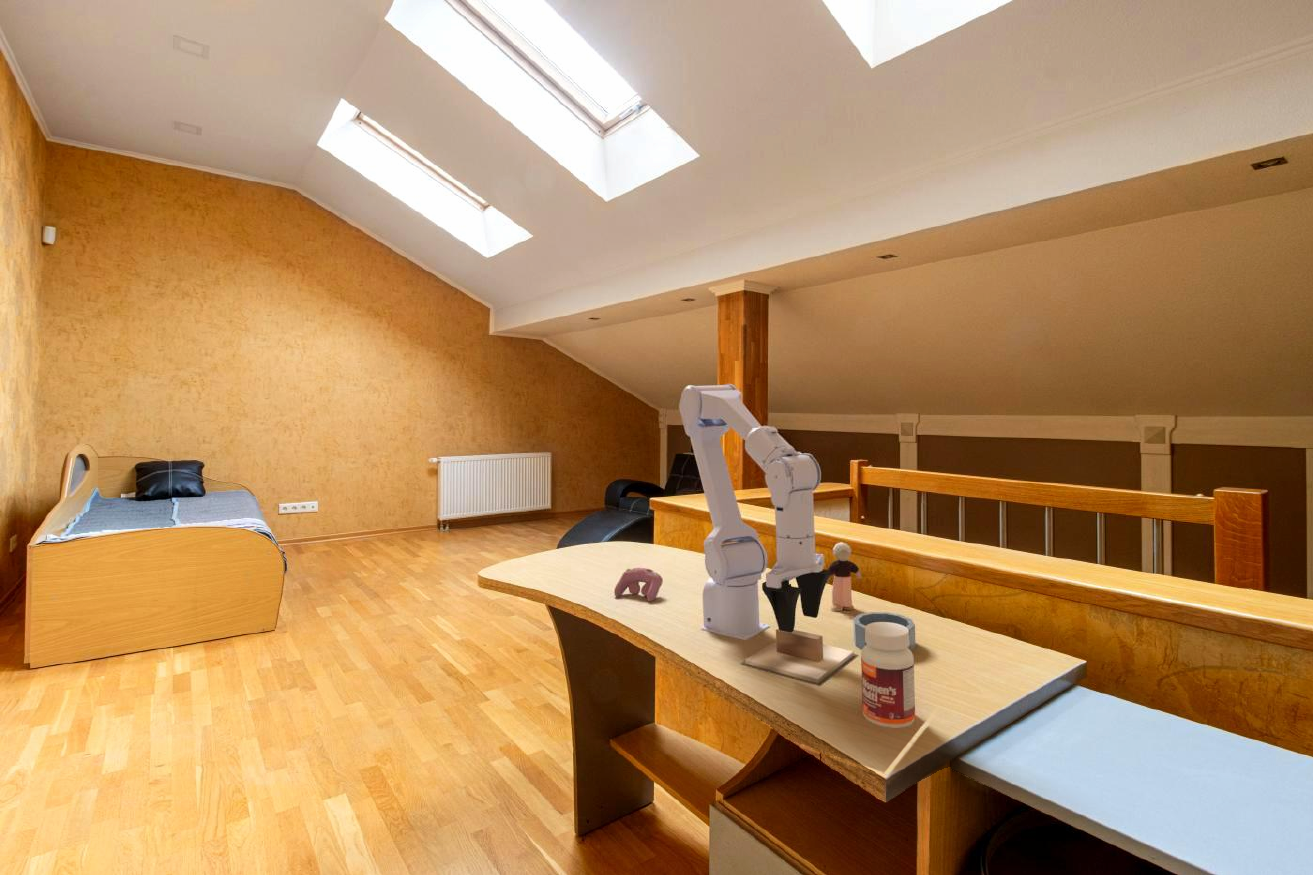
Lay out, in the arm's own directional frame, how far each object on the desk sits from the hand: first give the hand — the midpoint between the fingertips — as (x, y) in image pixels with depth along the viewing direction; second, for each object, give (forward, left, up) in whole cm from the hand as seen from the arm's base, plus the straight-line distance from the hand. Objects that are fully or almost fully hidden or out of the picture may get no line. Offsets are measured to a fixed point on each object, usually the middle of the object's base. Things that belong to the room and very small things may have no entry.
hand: (798, 623), depth 95 cm
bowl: (+8, +13, -6) cm, 16 cm away
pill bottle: (+17, -9, -6) cm, 20 cm away
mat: (0, 0, -6) cm, 6 cm away
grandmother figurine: (-5, +27, -6) cm, 28 cm away
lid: (0, 0, -6) cm, 6 cm away
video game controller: (-44, +12, -6) cm, 46 cm away
